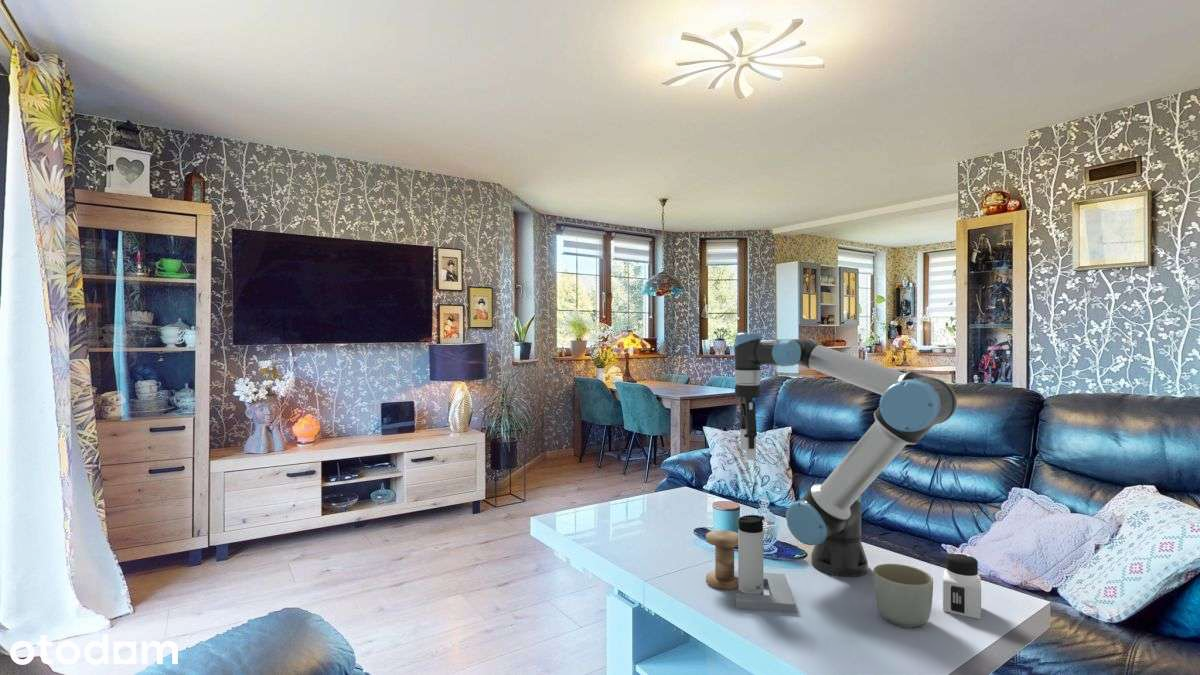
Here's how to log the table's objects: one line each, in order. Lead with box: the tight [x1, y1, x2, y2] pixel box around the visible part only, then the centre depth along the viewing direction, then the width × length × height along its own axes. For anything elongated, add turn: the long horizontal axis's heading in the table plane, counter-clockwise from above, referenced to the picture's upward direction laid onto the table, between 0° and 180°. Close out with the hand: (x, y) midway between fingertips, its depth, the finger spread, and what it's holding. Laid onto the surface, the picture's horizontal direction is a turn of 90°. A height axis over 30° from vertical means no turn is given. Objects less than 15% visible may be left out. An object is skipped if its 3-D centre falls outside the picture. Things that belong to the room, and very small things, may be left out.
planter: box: [872, 563, 934, 628], centre depth 136 cm, size 12×12×11 cm
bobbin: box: [705, 529, 739, 591], centre depth 158 cm, size 10×10×12 cm
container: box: [942, 552, 982, 620], centre depth 142 cm, size 8×8×13 cm
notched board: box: [734, 570, 797, 614], centre depth 150 cm, size 14×18×2 cm
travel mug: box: [737, 514, 766, 595], centre depth 151 cm, size 6×7×20 cm
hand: (747, 454), depth 175 cm, fingers open, 13 cm apart
